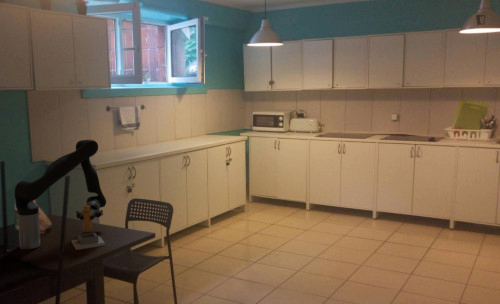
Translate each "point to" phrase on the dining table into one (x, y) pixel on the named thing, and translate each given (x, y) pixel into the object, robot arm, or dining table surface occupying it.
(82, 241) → the hollow square frame plate
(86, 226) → the stepped amber cylinder
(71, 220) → the dining table surface
